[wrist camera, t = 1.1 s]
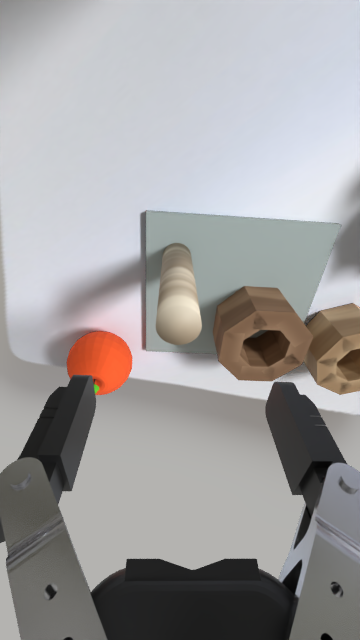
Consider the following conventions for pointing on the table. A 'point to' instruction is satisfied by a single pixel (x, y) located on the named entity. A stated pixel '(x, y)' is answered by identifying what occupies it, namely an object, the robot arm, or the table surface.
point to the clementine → (101, 360)
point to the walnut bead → (270, 347)
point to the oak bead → (335, 349)
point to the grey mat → (235, 264)
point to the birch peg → (177, 297)
